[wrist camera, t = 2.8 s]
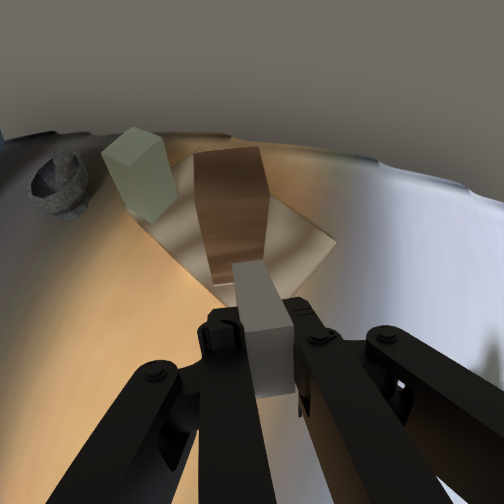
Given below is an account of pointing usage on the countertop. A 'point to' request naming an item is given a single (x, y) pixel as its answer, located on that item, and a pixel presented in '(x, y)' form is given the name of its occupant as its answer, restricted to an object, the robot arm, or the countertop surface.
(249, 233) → the walnut block
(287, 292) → the maple board
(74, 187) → the mortar and pestle
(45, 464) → the countertop surface
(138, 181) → the sage-green block
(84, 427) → the countertop surface
